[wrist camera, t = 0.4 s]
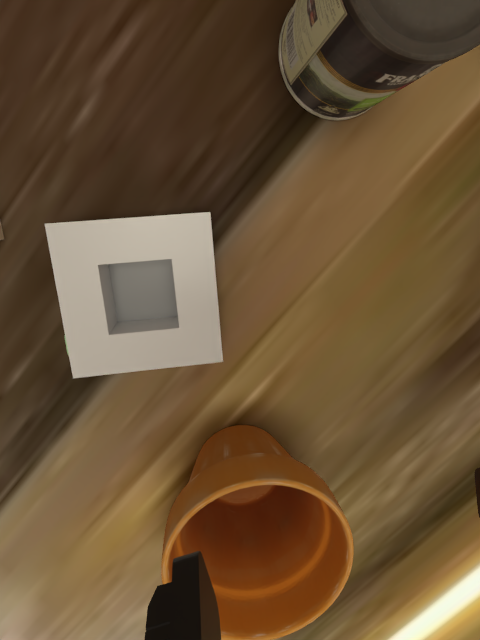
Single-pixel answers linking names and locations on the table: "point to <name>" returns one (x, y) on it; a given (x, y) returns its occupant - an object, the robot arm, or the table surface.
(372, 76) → the coffee can
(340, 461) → the table surface
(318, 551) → the flower pot
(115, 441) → the table surface
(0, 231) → the holster
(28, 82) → the table surface
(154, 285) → the port
